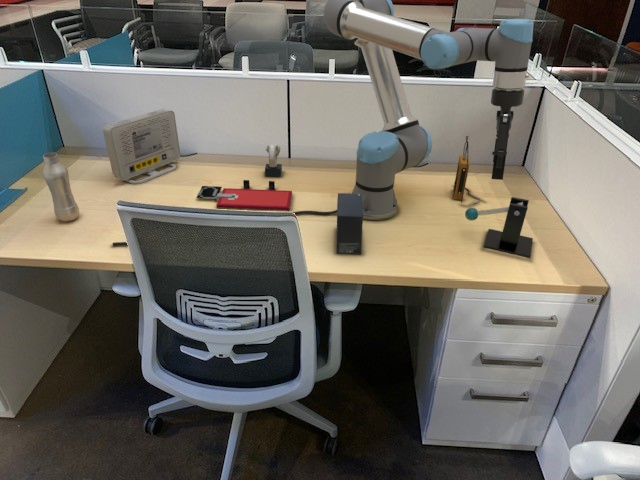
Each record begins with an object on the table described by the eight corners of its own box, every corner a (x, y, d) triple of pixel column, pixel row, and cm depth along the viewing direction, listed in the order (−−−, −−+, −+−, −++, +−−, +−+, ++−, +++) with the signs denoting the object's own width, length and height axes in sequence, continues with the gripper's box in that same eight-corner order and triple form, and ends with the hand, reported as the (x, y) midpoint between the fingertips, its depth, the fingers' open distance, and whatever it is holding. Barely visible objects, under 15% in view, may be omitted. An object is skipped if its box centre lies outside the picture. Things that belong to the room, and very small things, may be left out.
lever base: (482, 250, 131) (493, 205, 124) (487, 232, 139) (498, 190, 132) (529, 260, 127) (543, 215, 120) (531, 242, 135) (544, 199, 128)
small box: (335, 229, 139) (337, 192, 133) (359, 229, 139) (362, 192, 133) (335, 254, 128) (337, 215, 122) (361, 255, 128) (364, 215, 122)
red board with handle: (203, 185, 161) (192, 207, 148) (203, 178, 159) (191, 199, 147) (292, 189, 161) (289, 211, 148) (292, 181, 159) (289, 203, 147)
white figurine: (282, 169, 174) (281, 140, 168) (280, 179, 167) (279, 149, 161) (266, 169, 174) (265, 140, 168) (264, 178, 167) (263, 149, 161)
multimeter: (486, 208, 151) (500, 149, 141) (454, 205, 153) (465, 146, 142) (482, 189, 164) (494, 132, 153) (452, 186, 165) (462, 130, 155)
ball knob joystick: (465, 223, 133) (462, 212, 132) (467, 217, 136) (465, 206, 134) (524, 216, 125) (521, 204, 124) (525, 210, 128) (522, 198, 127)
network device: (171, 159, 181) (162, 106, 170) (186, 164, 176) (179, 111, 166) (111, 181, 163) (97, 124, 152) (126, 188, 159) (114, 130, 148)
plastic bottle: (57, 226, 138) (37, 161, 127) (56, 215, 143) (36, 152, 132) (82, 221, 140) (63, 157, 130) (80, 211, 145) (62, 149, 135)
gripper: (526, 99, 106) (512, 188, 116) (523, 79, 127) (512, 156, 137) (490, 98, 109) (480, 185, 119) (493, 79, 129) (484, 154, 139)
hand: (497, 170), depth 128 cm, fingers open, 13 cm apart
